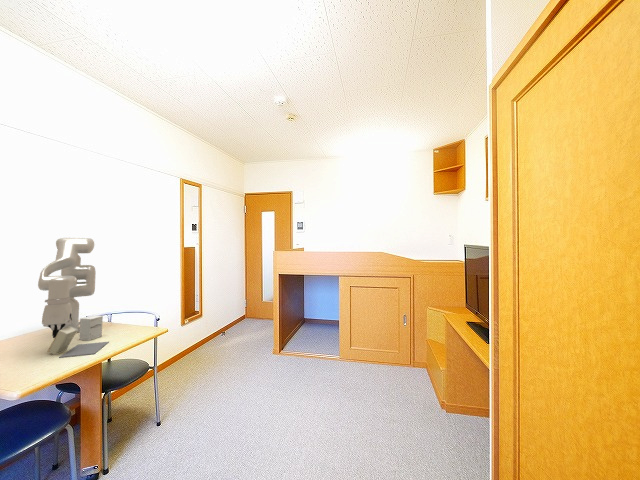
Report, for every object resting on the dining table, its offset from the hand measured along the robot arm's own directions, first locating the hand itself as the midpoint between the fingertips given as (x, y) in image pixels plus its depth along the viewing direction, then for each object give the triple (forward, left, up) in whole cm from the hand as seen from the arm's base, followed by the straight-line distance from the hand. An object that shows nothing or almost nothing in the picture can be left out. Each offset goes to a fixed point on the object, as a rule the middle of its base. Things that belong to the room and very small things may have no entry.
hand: (57, 336), depth 126 cm
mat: (0, +12, -8) cm, 15 cm away
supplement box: (-19, +6, -8) cm, 22 cm away
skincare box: (0, 0, -8) cm, 8 cm away
